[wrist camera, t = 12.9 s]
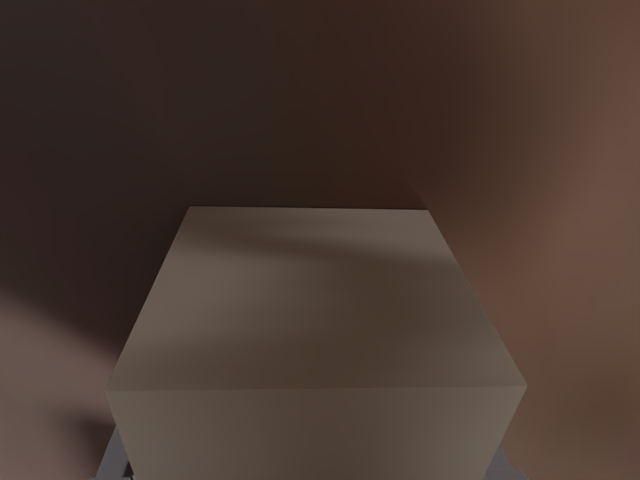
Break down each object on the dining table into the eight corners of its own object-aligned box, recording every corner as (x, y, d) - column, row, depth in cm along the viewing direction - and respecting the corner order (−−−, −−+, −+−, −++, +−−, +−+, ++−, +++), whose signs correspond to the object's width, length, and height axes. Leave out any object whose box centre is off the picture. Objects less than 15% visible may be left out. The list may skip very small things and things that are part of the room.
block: (218, 415, 12) (184, 612, 8) (189, 205, 8) (103, 391, 5) (385, 412, 13) (423, 600, 9) (427, 210, 9) (526, 386, 5)
